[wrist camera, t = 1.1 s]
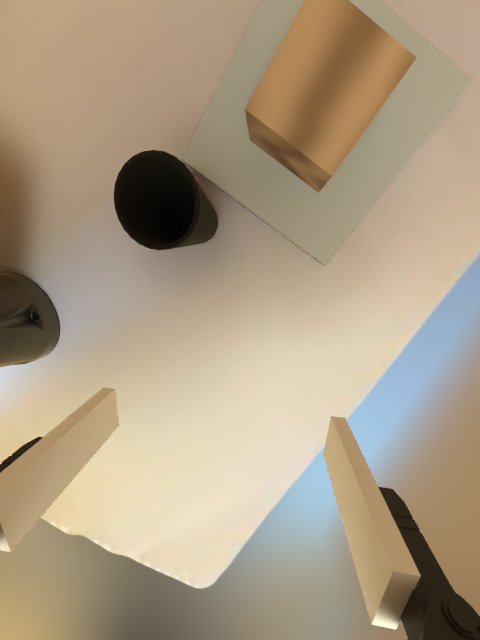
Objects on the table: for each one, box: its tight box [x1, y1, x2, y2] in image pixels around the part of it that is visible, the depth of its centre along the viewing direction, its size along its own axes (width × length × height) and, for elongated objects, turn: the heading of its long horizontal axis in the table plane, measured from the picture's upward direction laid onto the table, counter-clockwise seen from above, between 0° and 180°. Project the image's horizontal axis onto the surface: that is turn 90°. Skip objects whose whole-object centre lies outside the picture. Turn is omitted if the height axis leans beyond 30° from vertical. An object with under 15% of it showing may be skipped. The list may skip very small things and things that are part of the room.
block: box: [245, 0, 417, 193], centre depth 22 cm, size 10×10×6 cm
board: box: [182, 0, 473, 265], centre depth 26 cm, size 22×22×1 cm
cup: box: [114, 150, 218, 250], centre depth 25 cm, size 8×8×12 cm
